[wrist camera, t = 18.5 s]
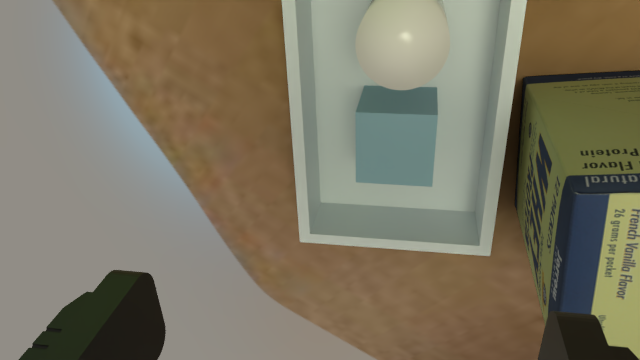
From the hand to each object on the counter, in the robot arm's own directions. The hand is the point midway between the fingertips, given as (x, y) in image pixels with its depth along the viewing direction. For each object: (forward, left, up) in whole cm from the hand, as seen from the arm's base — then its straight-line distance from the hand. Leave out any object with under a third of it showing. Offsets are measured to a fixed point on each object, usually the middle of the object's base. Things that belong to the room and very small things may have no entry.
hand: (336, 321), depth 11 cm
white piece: (0, 0, -27) cm, 27 cm away
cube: (-7, 0, -28) cm, 28 cm away
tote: (-6, 0, -28) cm, 29 cm away
